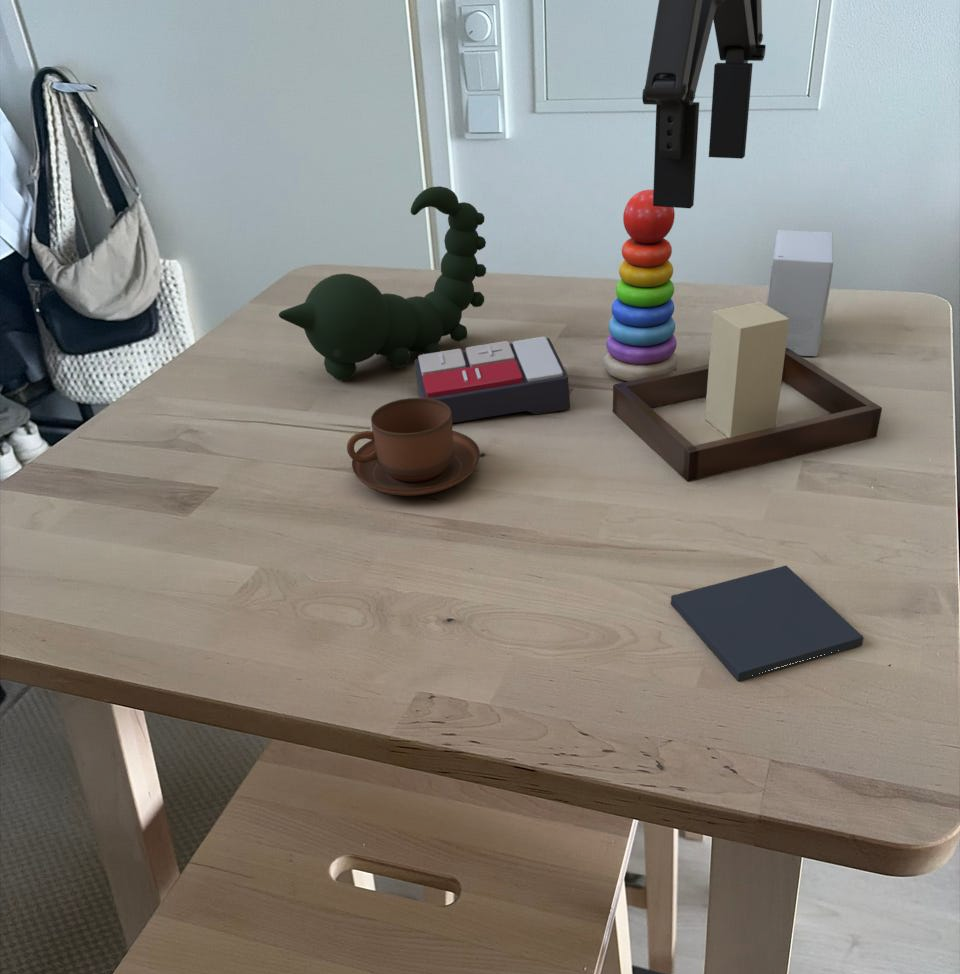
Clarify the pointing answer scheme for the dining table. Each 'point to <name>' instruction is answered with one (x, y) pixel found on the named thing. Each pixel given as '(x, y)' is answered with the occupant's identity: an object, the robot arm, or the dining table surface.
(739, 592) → the mat
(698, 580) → the dining table surface
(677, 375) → the wooden frame
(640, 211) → the stacking toy
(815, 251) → the cosmetics box
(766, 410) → the block
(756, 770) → the dining table surface
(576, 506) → the dining table surface
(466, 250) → the toy figurine
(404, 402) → the cup and saucer
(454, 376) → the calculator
